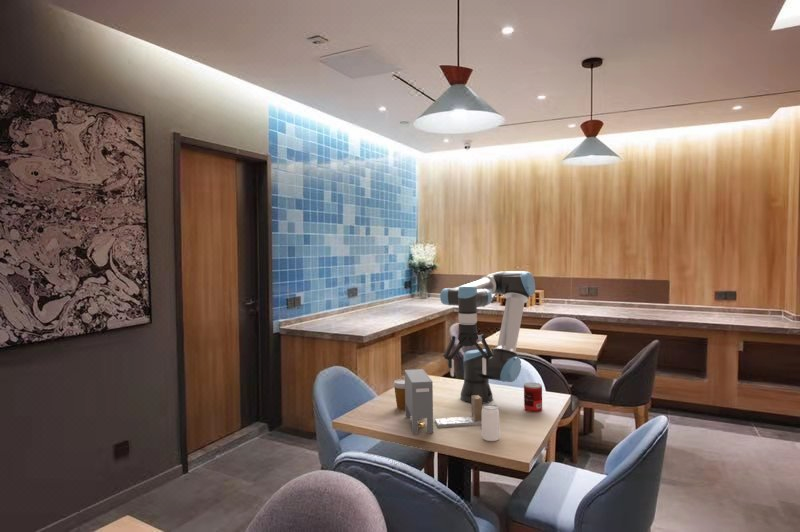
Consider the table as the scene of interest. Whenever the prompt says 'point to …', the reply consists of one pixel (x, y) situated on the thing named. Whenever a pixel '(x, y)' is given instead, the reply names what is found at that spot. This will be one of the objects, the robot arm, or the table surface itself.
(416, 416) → the gray cabinet
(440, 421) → the steel scraper
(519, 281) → the robot arm
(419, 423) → the brass token
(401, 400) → the disposable coffee cup
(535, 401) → the canned food
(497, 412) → the can
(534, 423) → the table surface
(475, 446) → the table surface
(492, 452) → the table surface
